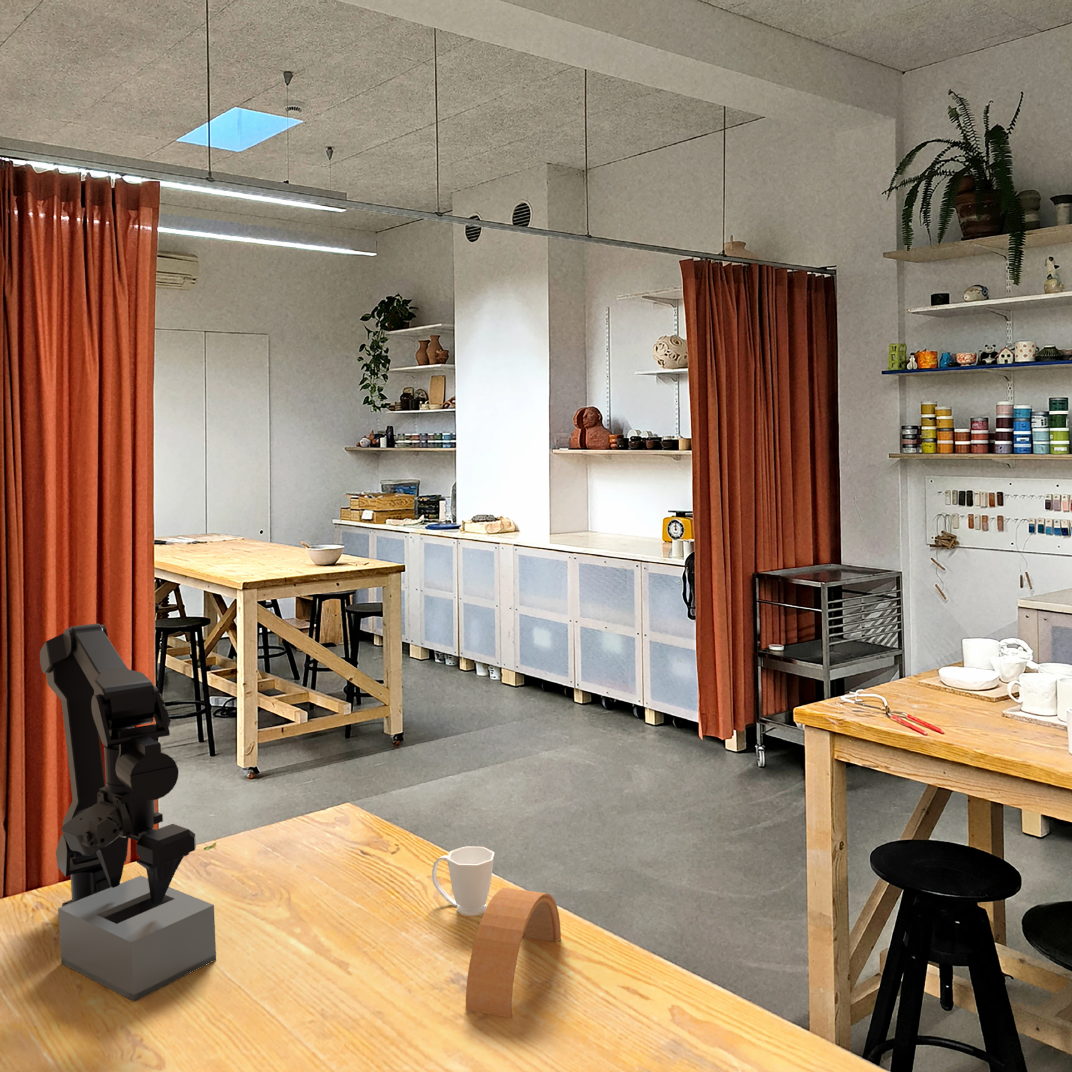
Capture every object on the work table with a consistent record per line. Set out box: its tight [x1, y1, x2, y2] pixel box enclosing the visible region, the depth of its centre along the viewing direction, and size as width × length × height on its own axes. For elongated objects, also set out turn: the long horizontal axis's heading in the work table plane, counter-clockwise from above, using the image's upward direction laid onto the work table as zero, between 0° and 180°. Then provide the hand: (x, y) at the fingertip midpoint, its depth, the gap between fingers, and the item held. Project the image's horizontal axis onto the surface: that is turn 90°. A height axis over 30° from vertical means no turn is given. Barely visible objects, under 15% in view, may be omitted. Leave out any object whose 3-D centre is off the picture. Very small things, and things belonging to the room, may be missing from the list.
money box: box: [57, 875, 217, 1002], centre depth 134 cm, size 16×12×8 cm
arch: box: [465, 887, 562, 1019], centre depth 131 cm, size 6×20×10 cm, turn 161°
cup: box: [431, 845, 495, 917], centre depth 149 cm, size 7×10×8 cm
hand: (135, 895), depth 134 cm, fingers open, 9 cm apart
